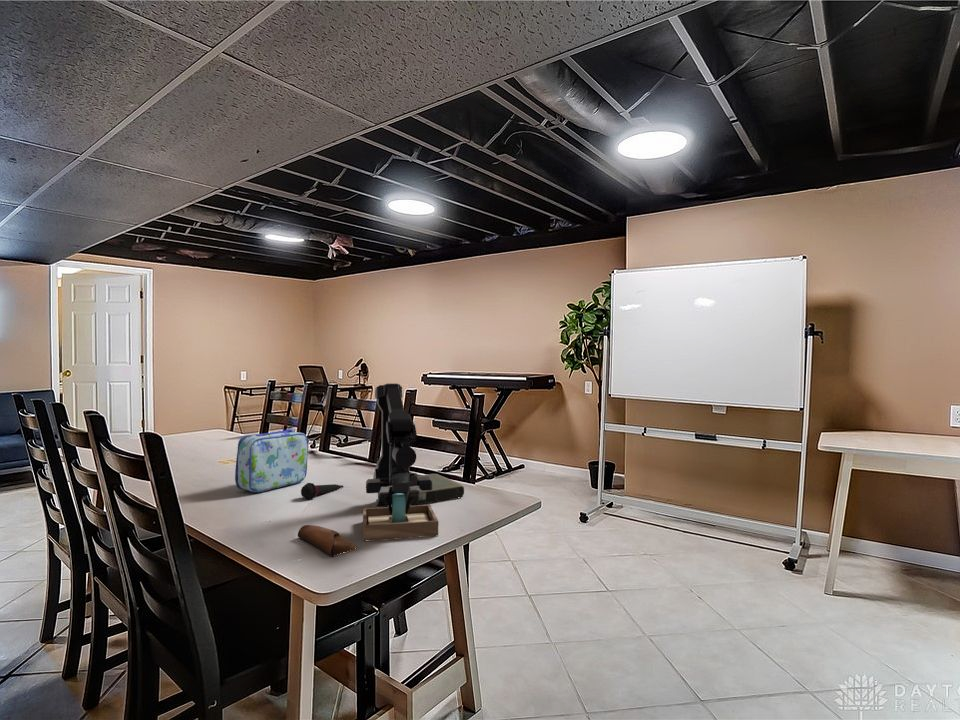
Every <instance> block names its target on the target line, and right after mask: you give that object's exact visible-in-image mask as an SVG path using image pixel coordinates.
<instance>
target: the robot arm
mask: <svg viewBox="0 0 960 720" xmlns="http://www.w3.org/2000/svg"><path fill="white" fill-rule="evenodd" d="M374 398H375V400H376V404H377V406H378V408H379V410H380V412H381V424H380V425H381V431H380V432H381V436H380V437H381V444H380V445H381V446H380V447H381V448H380V452H381V453H380V456H379V458H378V460H377V461H376V468H374V470H373V471H374V472H373V478H368V479H367V480H366V482H365V490H366V491H365V493H366V494H377V499H375V500H376V501H375V502H376V506H377V507H385V506H386V507H388V508H389V511H390V515H392V495H393V494H395V493H398V492H407V496H406V514H407V513H408V510H409V507H410V506H411V501H412V499H413V497H414V496H415V494H418V493H419V490H418V488H420V489H421V490H422V491H425V490H432V481H431V479H430V478H429V477H417V476H418V474H417V473H416V472H414V473H412V472H411V473H410V467H412V466H413V465H414V464H415V463H416V461H417V453H416V451H415V449H414V448H413V447H412V446H411V443H417V438H418V434H417V427H416V424H415V422H414V420H412V418H411V415H410V413H408V412H407V411H405V407H404V402H403V400H402V399H403V386H402V385H401V384H399V383H386V384H385V383H384V384H383V385H382V384H380V385H378V386H376V387H375V389H374Z"/></svg>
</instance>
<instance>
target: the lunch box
mask: <svg viewBox="0 0 960 720" xmlns="http://www.w3.org/2000/svg"><path fill="white" fill-rule="evenodd" d="M236 451H237V453H236V462H235V473H234V474H235V475H234V482H235V485H236V487H237V488H238V489H240V490H246V491H248V492H249V491H250V492H252V493H262V492H266V491H269V490H270V491H271V490H274V489H279V488H282V487H286V486H291V485H294V484H295V485H296V484H299V483H301V482H303V481H304V480H305V478H306V476H307V471H308V455H309V453H308V452H309V442H308V437H307V435H306V434H305V433H304V432H299V431H298V432H297V431H295V430H294V431H293V429H285V430H278V431H272V432H265V433H263V432H262V433H254V434H248V435H244V436H241V437H240V439H239V440H238V443H237V450H236Z"/></svg>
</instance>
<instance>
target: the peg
mask: <svg viewBox="0 0 960 720" xmlns="http://www.w3.org/2000/svg"><path fill="white" fill-rule="evenodd" d="M399 522H406V494H402V493H397V494H393V495H392V523H399Z"/></svg>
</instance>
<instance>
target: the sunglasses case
mask: <svg viewBox="0 0 960 720" xmlns="http://www.w3.org/2000/svg"><path fill="white" fill-rule="evenodd" d="M297 537H298V538H299V539H301V540H303V541H306V542H307V543H310V544H311V545H314V546H315V547H317V548H319V549H320V550H322V551H324V552H325V553H327V554H328V555H331V556H332V557H333V556H334V555H337V554H340V553H343V552H347V551H350V550H353V549H355V548H358V546H356V545H355V543H353V542H351V541H350V540H348V539H347V538H346V537H344V536H342V535H340V533H339V531H338V532H337V531H336V530H333V529H330V528H327V527H324V526H320V525H314V524H305V525H303V526H301V527H300V528H299V529H298V532H297ZM355 550H356V549H355ZM353 551H354V550H353ZM350 552H351V551H350ZM347 553H348V552H347ZM337 556H338V555H337ZM334 557H335V556H334Z"/></svg>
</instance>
